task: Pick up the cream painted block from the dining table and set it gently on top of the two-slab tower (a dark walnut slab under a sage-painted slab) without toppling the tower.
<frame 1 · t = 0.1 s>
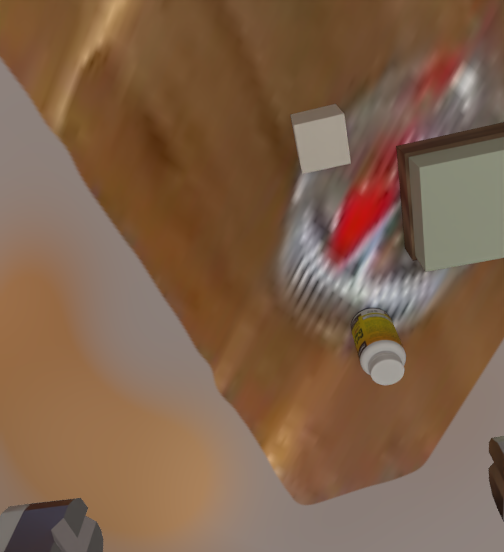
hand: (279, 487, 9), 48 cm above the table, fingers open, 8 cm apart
supplement bottle: (370, 322, 65), on the table
tower base: (455, 186, 56), on the table
cream block: (316, 132, 53), on the table
tower top: (467, 198, 53), point 3 cm above the table
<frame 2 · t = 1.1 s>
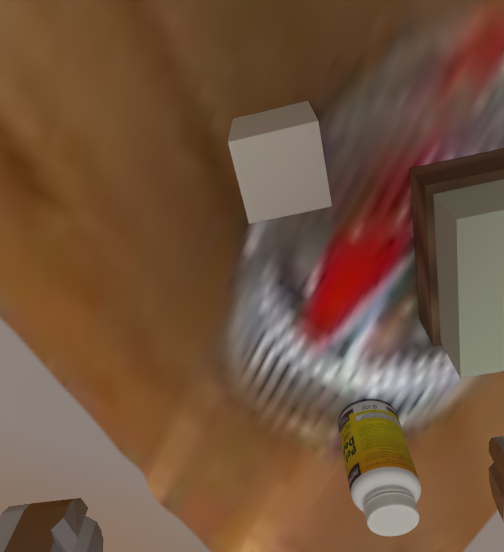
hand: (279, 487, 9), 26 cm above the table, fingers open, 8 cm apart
supplement bottle: (366, 417, 45), on the table
tower base: (501, 230, 35), on the table, touching tower top
cream block: (277, 147, 32), on the table
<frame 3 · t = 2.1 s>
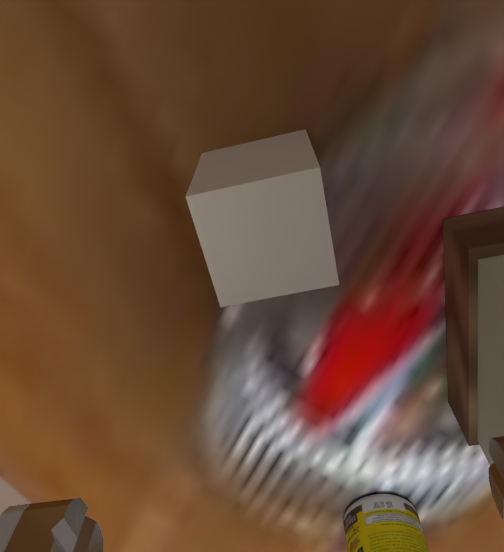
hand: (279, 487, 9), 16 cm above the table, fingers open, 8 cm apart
supplement bottle: (377, 510, 36), on the table
cream block: (264, 190, 24), on the table
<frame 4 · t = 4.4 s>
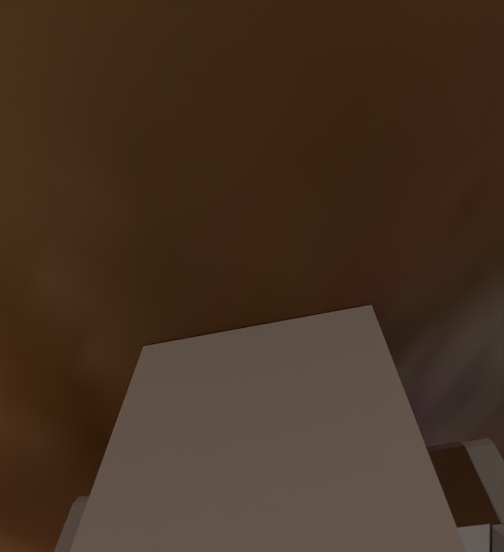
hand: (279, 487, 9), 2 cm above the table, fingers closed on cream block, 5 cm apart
cream block: (277, 410, 11), on the table, touching gripper
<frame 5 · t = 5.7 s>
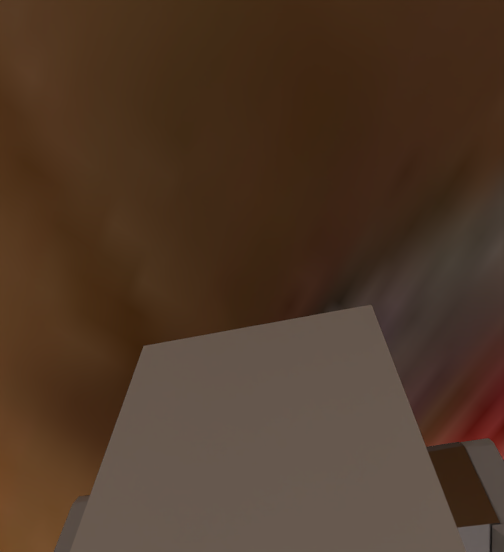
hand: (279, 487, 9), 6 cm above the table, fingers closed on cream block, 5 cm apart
cream block: (277, 410, 11), point 4 cm above the table, touching gripper
when the fingers open (10 cm above the table, at t = 14.0 s): cream block stays where it is, resting on tower top.
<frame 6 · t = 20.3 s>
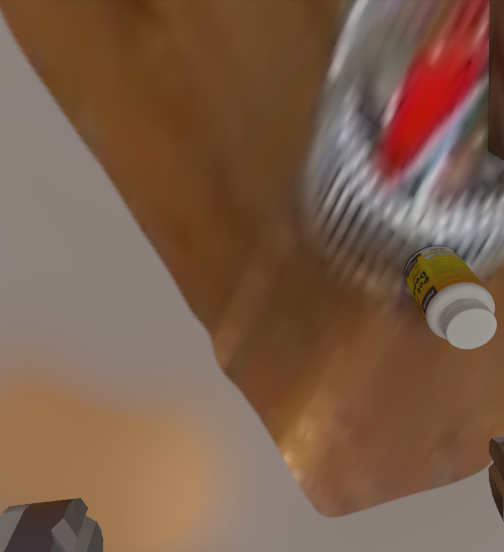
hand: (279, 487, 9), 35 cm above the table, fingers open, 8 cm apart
supplement bottle: (430, 268, 47), on the table
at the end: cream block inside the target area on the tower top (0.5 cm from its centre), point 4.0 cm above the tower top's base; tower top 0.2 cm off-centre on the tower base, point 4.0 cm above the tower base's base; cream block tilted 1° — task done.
